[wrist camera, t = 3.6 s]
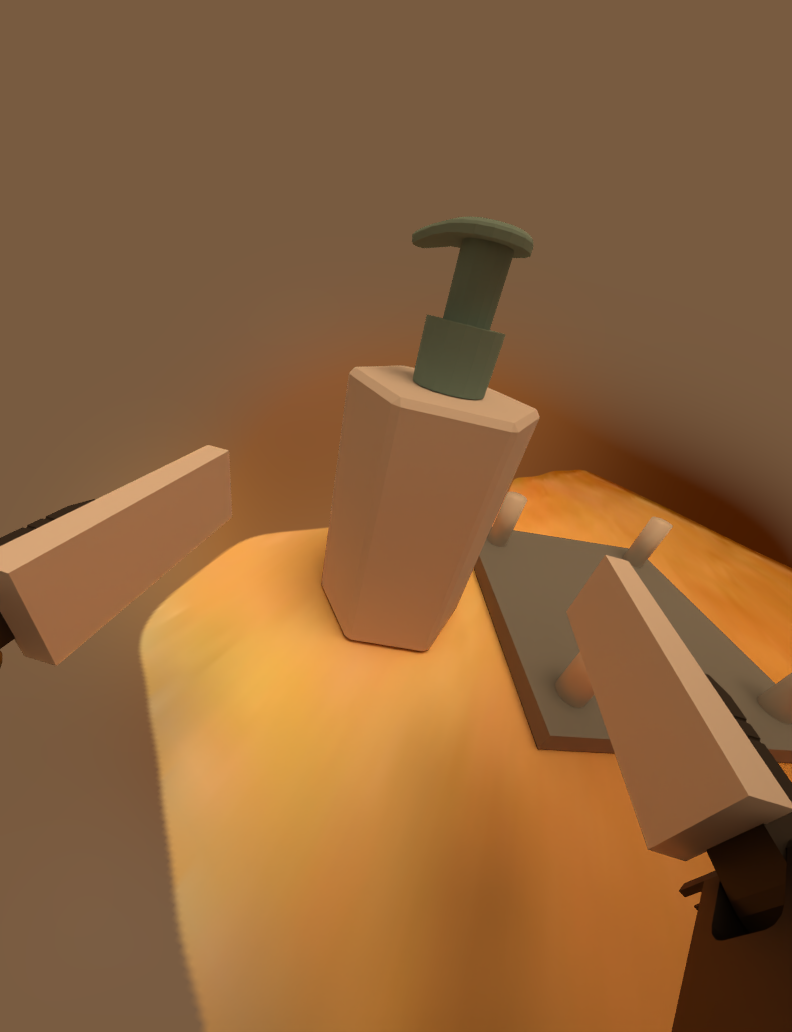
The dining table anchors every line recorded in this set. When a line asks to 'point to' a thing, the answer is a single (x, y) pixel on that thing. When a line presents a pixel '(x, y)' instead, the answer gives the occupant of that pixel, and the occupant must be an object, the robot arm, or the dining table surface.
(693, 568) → the dining table surface
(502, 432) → the soap bottle
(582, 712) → the plate
